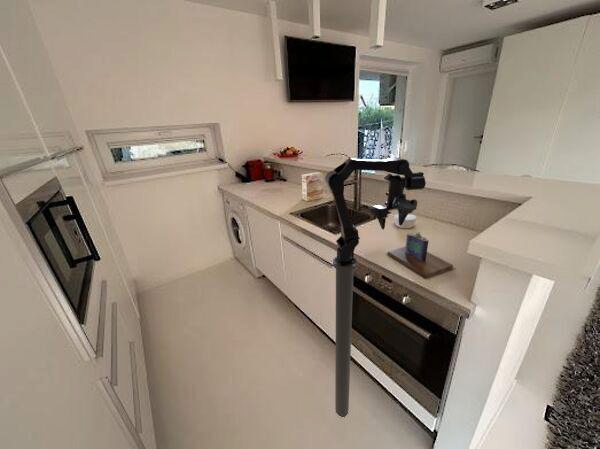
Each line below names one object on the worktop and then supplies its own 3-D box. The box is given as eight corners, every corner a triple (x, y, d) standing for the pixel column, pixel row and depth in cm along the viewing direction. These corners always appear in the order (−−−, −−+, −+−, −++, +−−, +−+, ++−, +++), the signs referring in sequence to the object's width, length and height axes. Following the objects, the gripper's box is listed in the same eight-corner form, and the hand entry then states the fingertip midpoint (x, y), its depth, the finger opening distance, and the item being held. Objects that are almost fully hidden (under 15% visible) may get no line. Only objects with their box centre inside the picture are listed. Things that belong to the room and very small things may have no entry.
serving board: (425, 278, 89) (426, 274, 89) (387, 254, 107) (387, 251, 106) (452, 268, 94) (453, 265, 94) (412, 247, 111) (412, 244, 111)
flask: (403, 252, 104) (406, 229, 100) (407, 250, 106) (410, 228, 102) (423, 261, 97) (427, 237, 93) (427, 259, 98) (432, 235, 94)
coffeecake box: (307, 201, 186) (306, 175, 179) (302, 199, 192) (301, 174, 185) (323, 197, 193) (322, 173, 186) (318, 195, 199) (317, 171, 192)
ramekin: (409, 221, 140) (410, 212, 138) (419, 228, 130) (420, 219, 128) (390, 222, 140) (391, 213, 138) (398, 229, 130) (399, 220, 128)
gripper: (391, 199, 86) (386, 239, 92) (430, 192, 93) (424, 230, 98) (371, 192, 96) (368, 228, 102) (408, 186, 102) (403, 221, 108)
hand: (391, 227), depth 102 cm, fingers open, 9 cm apart
